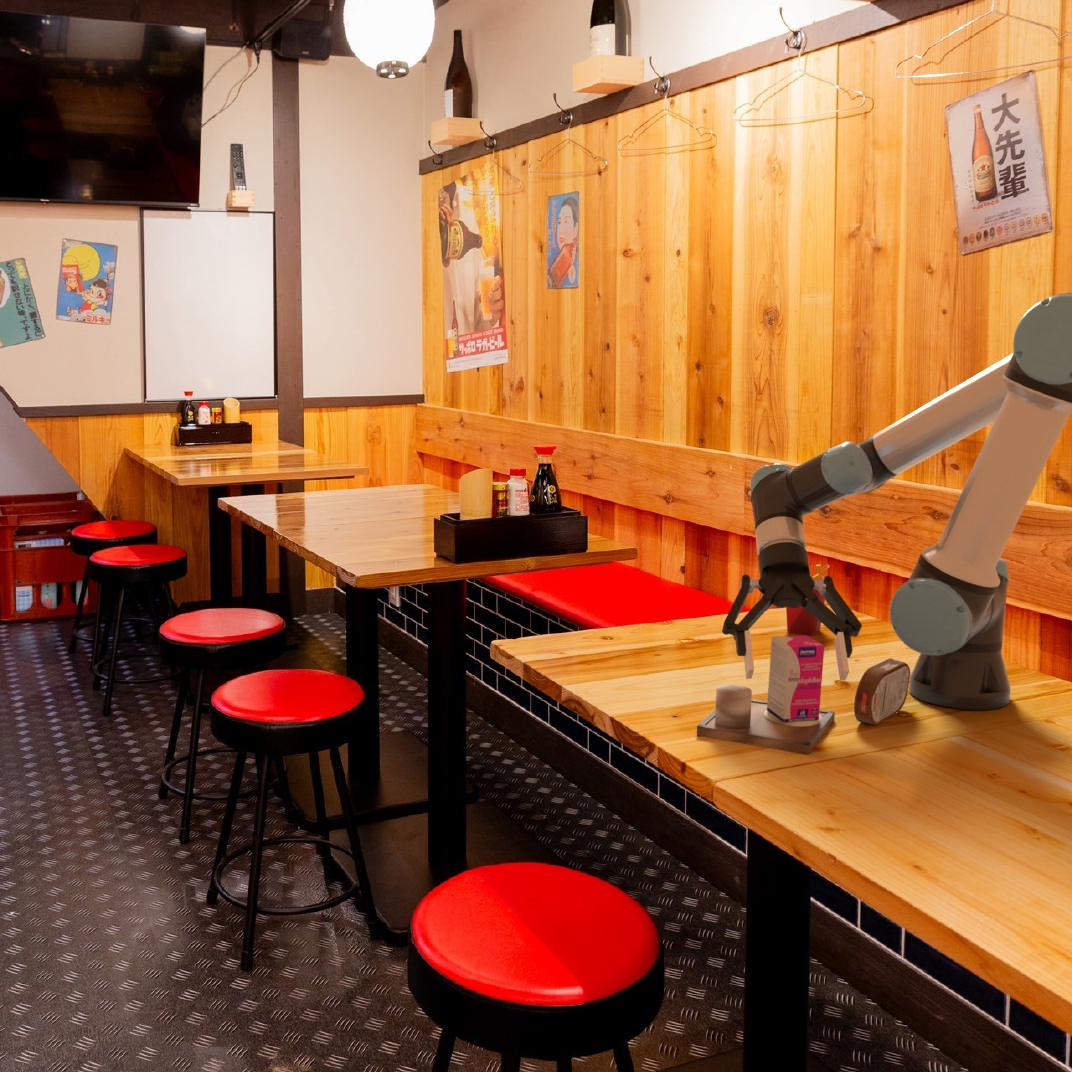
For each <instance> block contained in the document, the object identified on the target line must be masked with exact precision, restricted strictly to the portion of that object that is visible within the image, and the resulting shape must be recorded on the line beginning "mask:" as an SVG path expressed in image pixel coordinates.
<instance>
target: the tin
mask: <svg viewBox="0 0 1072 1072" xmlns="http://www.w3.org/2000/svg"><path fill="white" fill-rule="evenodd" d="M910 677H911V668H910V666H909V664H907V663H906V662H903V661H900V660H896V659H894V658H892V657H890V658H887V659H885V660H883V661H881V662H879V663H877V664H875V665H872V666H870V667H868V668H867V669H866V670H865V671H864V673H863V675H862V676H861V678H860V681H859V682H858V685H857V688H856V691H855V695H854V696H855V697H854V703H853V705H854V706H853V708H854V709H853V711H854V717H855V719H856V721H857V722H860V723H865V724H867V725H872V726H877V725H879V724H881V723H883V722H884V721H886V720H888V719H889V717H890V718H892V717H893V716H895V715H896V714H897V713H896V712H898V713H899V712H900V711H901V709H902V708H903V707H904V705H905V703H906V699H907V696H908V691H909V685H910ZM895 713H896V714H895ZM894 714H895V715H894ZM887 718H888V719H887ZM882 721H883V722H882ZM880 722H881V723H880Z"/></svg>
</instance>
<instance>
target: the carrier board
mask: <svg viewBox="0 0 1072 1072" xmlns="http://www.w3.org/2000/svg"><path fill="white" fill-rule="evenodd" d="M715 689H716V690H715V691H716V692H715V693H716V694H715V695H716V696H715V709H714V710H713V711H712V712H711V713H709V715H707V716H706V717H705V718H703V720H702V721H700V723H698V724H697V726H696V736H697V737H705V738H709V739H710V738H711V739H717V740H723V741H729V742H734V743H740V744H746V745H752V746H753V745H754V746H758V747H762V748H763V747H764V748H771V749H776V750H782V751H788V752H794V753H799V754H804V753H805V755H810V754H811V752H812V751H813V750H814V748H815V747H816V746H815V745H818V744H819V742H820V740H821V739H822V738H823V736H824V735H825V734H826V732H827V731H828V730H829V729H830V727H831V726H832V724H833V723H834V722H835V716H836V713H835V712H836V711H832V710H825V709H820V710H819V720H805V721H790V722H782V721H781V720H779V719H778V718H777V717H775V716H774V715H772V714H771V713H769V712H768V711H767V701H768V700H761V699H753V698H752V696H753V690H752V689H751V688H749V687H746V686H743V685H738V684H737V685H736V684H722V685H719V686H717V687H716V688H715ZM832 722H833V723H832ZM827 729H828V730H827ZM824 733H825V734H824ZM821 737H822V738H821ZM812 749H813V750H812ZM809 753H810V754H809Z"/></svg>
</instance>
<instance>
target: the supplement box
mask: <svg viewBox="0 0 1072 1072" xmlns="http://www.w3.org/2000/svg"><path fill="white" fill-rule="evenodd" d="M824 654H825V645H824V644H822V643H821V642H819V641H817V640H815V639H813V638H812V637H810V636H809V635H804V634H800V635H783V636H782V635H781V636H780V635H779V636H772V637H771V645H770V660H769V674H768V689H767V700H766V701H767V711H768V712H769V713H771V714H772V715H774V716H775V717H777V718H778V719H779V720H781V721H782V722H790V721H805V720H819V710H821V708H820V706H821V695H822V693H821V692H822V682H823V670H824V657H825V656H824Z"/></svg>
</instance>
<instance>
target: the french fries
mask: <svg viewBox="0 0 1072 1072" xmlns="http://www.w3.org/2000/svg"><path fill="white" fill-rule="evenodd" d="M821 565H822V564H816V565H815V571H816V572H815V574H814V575H812V573H811V566H810V565H809V570H810V576H811V577H812V579H813V580H824V578H825V576H824V575H822V573H823V572H824V571H826V570H827V569H830V564H825V565H823V566H821ZM812 592H813V593H815V594H816V595H817V597H818V599H819V600H820V601H821V602H822V603H823V604H824V605H825V601H826V600H825V598H824V596H823V595H820V593H819V591H818V590H816V589H813V591H812ZM806 600H807V601H808V599H806ZM785 610H786V611H785V612H786V629H787V630H786V631H787V633H792V634H798V635H807V636H809V637H810V636H814V635H815V634H816V633H818V632H821V627H822V623H821V622H820V621H819V620H818V619H817V618H816V617H815V616H814V615H812V614H811V613H810V612H807V611H805V610H804V609H803V608H802V607H801V606H799V607H798V608H790V607H785Z"/></svg>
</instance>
